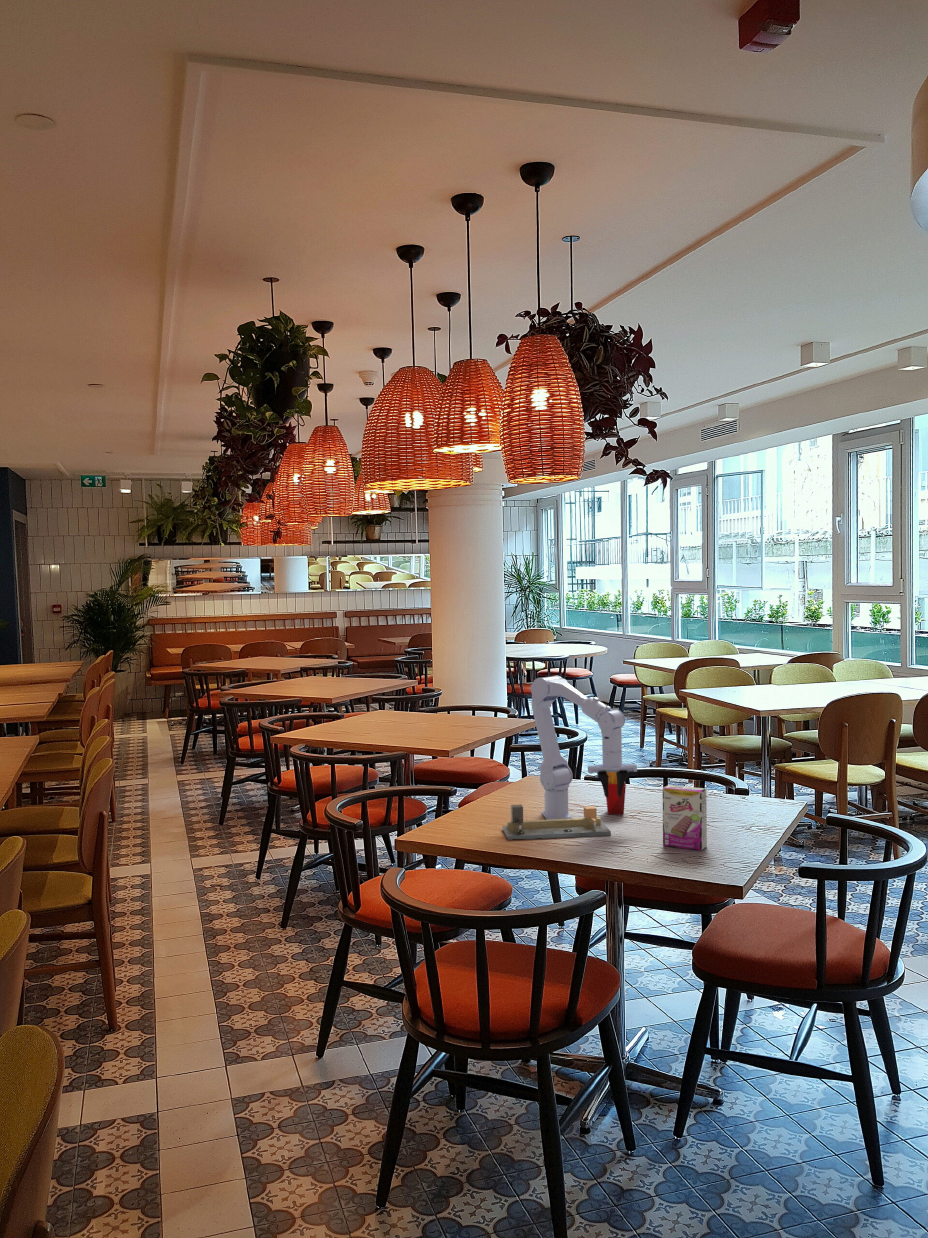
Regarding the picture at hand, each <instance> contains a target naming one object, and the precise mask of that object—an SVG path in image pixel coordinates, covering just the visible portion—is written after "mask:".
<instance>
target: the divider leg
mask: <svg viewBox="0 0 928 1238" xmlns="http://www.w3.org/2000/svg"><path fill="white" fill-rule="evenodd" d="M597 815H598V814H597V807H596V806H595V805H591V806H590V805H588V806H587V805H586V806H583V818H586V819H591V820H592V821H593V822H594V829H596V820H595V819H596V818H597Z"/></svg>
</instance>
